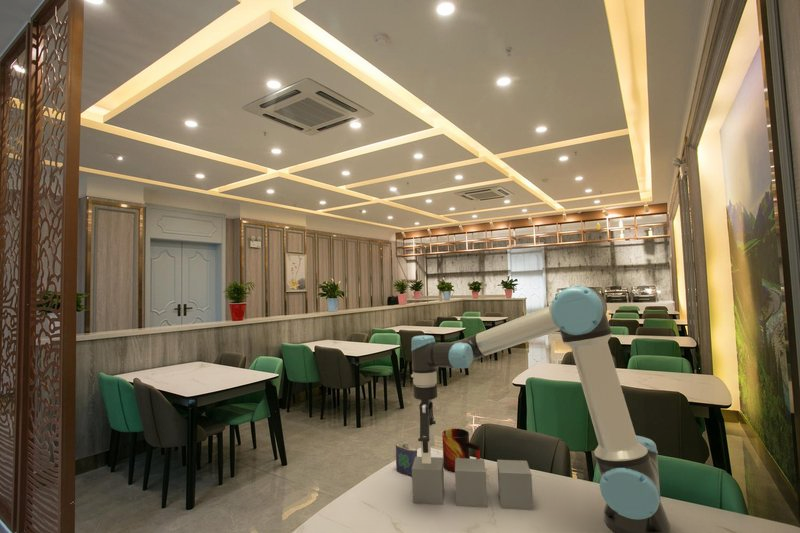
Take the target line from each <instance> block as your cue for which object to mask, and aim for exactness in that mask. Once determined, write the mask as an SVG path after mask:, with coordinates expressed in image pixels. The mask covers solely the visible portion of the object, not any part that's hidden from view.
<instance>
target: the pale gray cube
mask: <svg viewBox="0 0 800 533" xmlns="http://www.w3.org/2000/svg"><path fill="white" fill-rule="evenodd" d="M486 473H487V472H486V465H485V459H483V458H480V459H476V458H470V459H465V458H456V460H455V473H454V484H455V506H457V507H458V506H459V507H479V508H488V499H487V496H488V493H487V475H486Z"/></svg>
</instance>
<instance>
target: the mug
mask: <svg viewBox="0 0 800 533" xmlns="http://www.w3.org/2000/svg"><path fill="white" fill-rule="evenodd" d="M441 435H442V458H443V470H445V471H446V472H450V473H453V474H455V460H456V458H465V459H471V452H470V449H472V450H475V459H481V453H480V451H481V450H480V444H476V443H473V442H470V433H469V431H467V430H466V429H463V428H448V429H444V430H443V431H442V434H441Z"/></svg>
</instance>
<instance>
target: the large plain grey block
mask: <svg viewBox="0 0 800 533" xmlns="http://www.w3.org/2000/svg"><path fill="white" fill-rule="evenodd" d="M444 472H445V471H444V465H443V457H435V456H434V457H433V456H431V464H429V463H422V456H417V457H415V460H414V463H413V466H412V476H411V484H412V485H411V486H412V489H411V490H412V504H424V505H425V504H426V505H441V506H443V505H444V497H445V496H444V493H445V480H444V479H445V478H444V476H445V475H444Z"/></svg>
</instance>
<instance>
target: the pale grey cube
mask: <svg viewBox="0 0 800 533" xmlns="http://www.w3.org/2000/svg"><path fill="white" fill-rule="evenodd" d="M496 460H497V461H496V464H497V466H496V467H497V484H498V487H497V488H498V496H499V502H500V509H508V510H509V509H513V510H514V509H515V510H529V511H534V497H533V478H532V477H533V476H532V472H531V469H530V466H529V463H528V461H527V460H517V459H516V460H515V459H514V460H513V459H512V460H511V459H496Z"/></svg>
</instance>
